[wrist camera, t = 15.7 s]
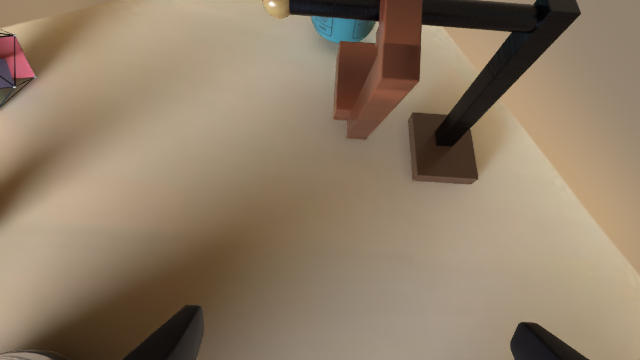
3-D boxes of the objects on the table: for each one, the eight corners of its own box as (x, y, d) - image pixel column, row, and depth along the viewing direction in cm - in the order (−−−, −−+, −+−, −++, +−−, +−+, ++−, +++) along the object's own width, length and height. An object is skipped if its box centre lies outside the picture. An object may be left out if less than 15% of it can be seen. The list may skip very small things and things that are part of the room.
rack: (471, 184, 25) (643, 65, 12) (277, 172, 25) (248, 35, 12) (462, 123, 27) (599, -31, 15) (284, 111, 27) (266, -59, 14)
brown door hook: (379, 140, 25) (448, 83, 12) (331, 137, 25) (352, 76, 12) (383, 61, 25) (454, -72, 13) (336, 57, 25) (361, -80, 13)
